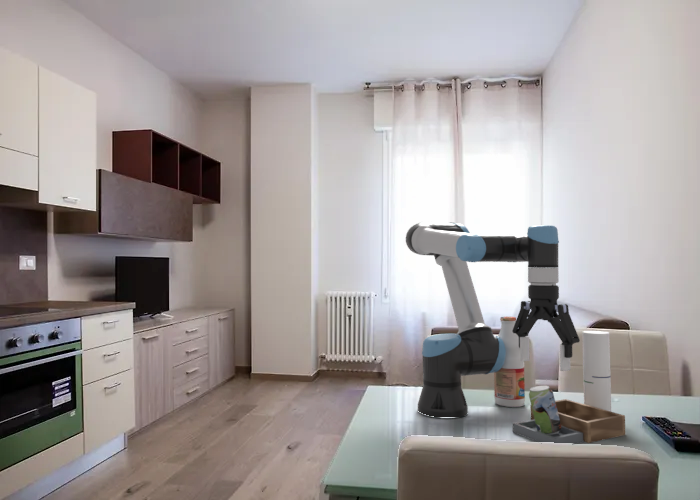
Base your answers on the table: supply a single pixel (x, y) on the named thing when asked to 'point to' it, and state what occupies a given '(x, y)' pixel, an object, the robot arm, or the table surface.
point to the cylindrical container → (596, 369)
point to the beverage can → (544, 410)
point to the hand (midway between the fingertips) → (544, 365)
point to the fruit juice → (510, 369)
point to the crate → (589, 420)
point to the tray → (531, 432)
